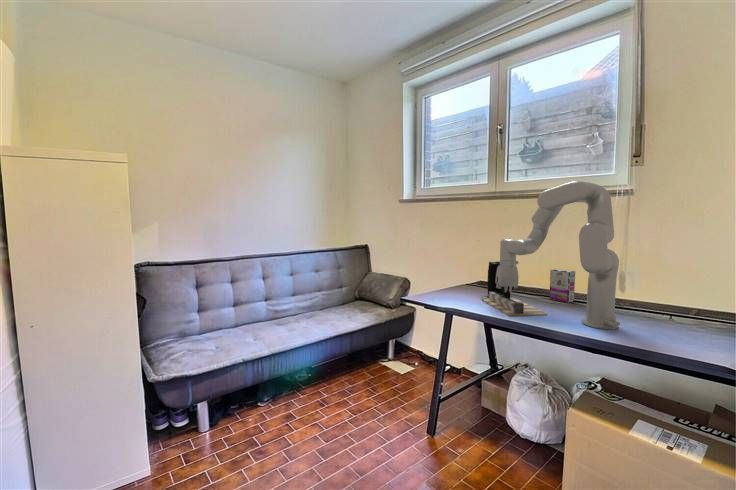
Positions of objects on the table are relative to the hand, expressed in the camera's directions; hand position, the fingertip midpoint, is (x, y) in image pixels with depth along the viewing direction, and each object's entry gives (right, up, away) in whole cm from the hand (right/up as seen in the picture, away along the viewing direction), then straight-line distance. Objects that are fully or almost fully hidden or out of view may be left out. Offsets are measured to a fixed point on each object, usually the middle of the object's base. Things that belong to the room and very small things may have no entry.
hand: (506, 299), depth 173 cm
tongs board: (+1, -3, -4) cm, 5 cm away
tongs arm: (-2, -2, -3) cm, 4 cm away
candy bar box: (+33, -2, +10) cm, 35 cm away
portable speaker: (+1, -2, +18) cm, 18 cm away
